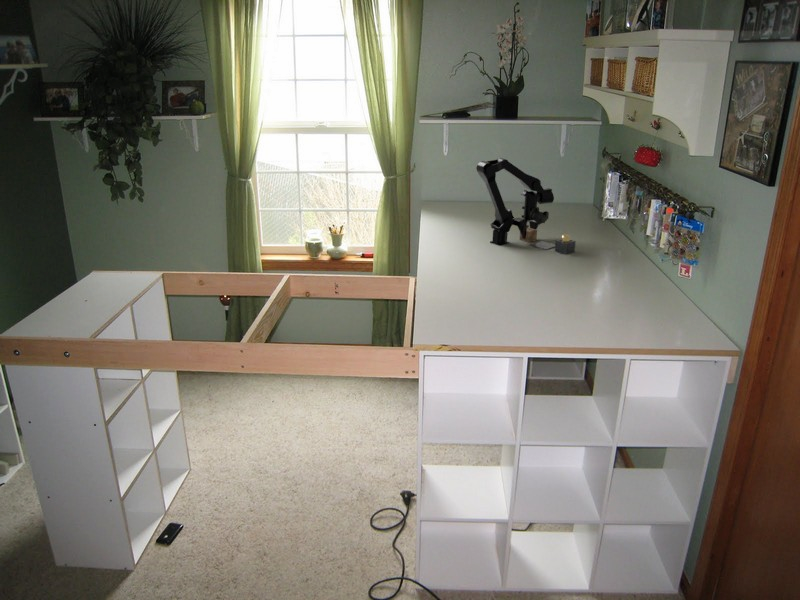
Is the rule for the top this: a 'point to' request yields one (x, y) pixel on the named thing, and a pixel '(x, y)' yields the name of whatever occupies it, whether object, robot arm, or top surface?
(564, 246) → the press block
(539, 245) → the plate
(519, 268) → the top surface
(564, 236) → the pin
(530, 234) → the light brown cube-like block
